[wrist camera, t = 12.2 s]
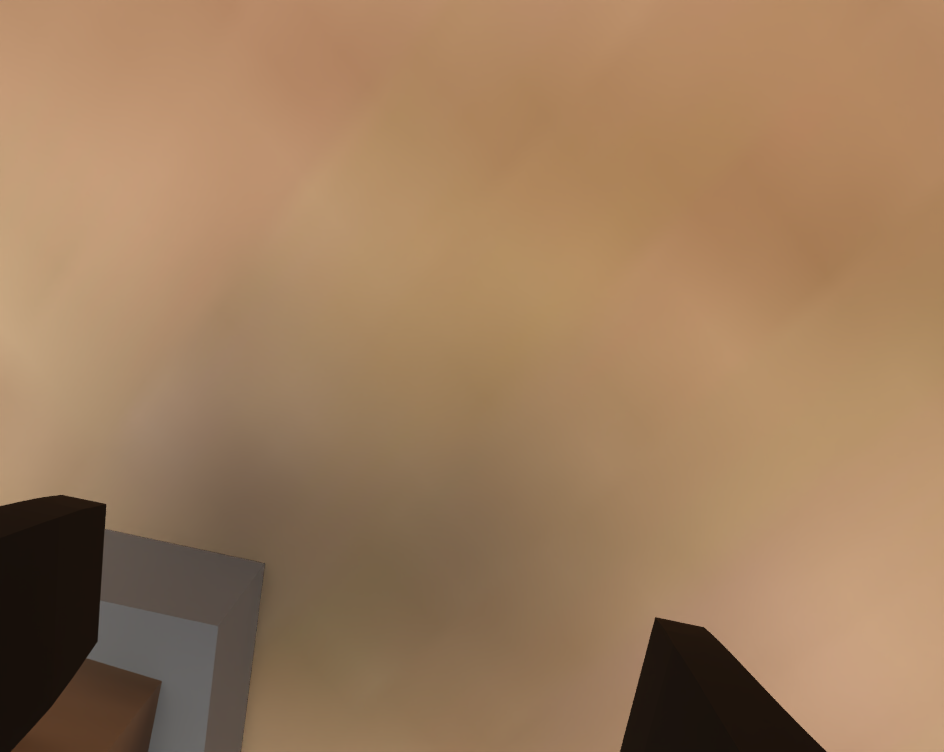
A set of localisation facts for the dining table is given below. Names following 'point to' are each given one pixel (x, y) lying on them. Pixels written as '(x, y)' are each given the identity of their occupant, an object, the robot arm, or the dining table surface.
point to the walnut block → (98, 713)
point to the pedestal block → (182, 635)
